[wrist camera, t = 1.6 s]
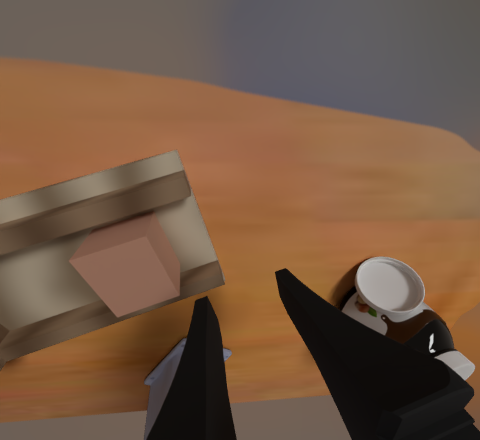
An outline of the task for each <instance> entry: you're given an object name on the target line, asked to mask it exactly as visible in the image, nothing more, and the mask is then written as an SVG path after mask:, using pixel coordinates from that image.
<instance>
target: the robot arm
mask: <svg viewBox="0 0 480 440" xmlns="http://www.w3.org/2000/svg"><path fill="white" fill-rule="evenodd" d="M275 274H276V280H277V285H278V290H279V295H280V298H281V300H282V302H283V304H284V307H285V309H286V311H287V313H288V315H289V317H290V318H291V320H292V322H293V323H294V325H295V327H296V329H297V330H298V332H299V334H300V335H301V337H302V339H303V341H304V342H305V344H306V346H307V347H308V349H309V351H310V352H311V354H312V356H313V358H314V360H315V362H316V364H317V366H318V368H319V370H320V372H321V374H322V376H323V378H324V380H325V383H326V385H327V387H328V389H329V391H330V393H331V395H332V397H333V399H334V402H335V404H336V406H337V408H338V410H339V412H340V415H341V416H342V419H343V421H344V423H345V425H346V428H347V430H348V432H349V434H350V437H351V439H352V440H480V431H479V430H478V429H477V428H476V427H475V426H474V425H473V423H474V422H475V421H474V419H473V418H472V417H471V416H470V415H469V414H468V412H466V410H465V409H464V407H465V406H466V405H467V404H468V403H469V401H470V400H471V399H472V397H473V396H474V389H473V388H472V387H471V386H470V385H469V384H468V383H467V382H466V381H465V380H464V379H463V378H462V377H461V376H460V375H458V374H457V373H456V372H455V371H454V370H453V369H452V368H450V367H449V366H448V365H447V364H445V363H444V362H443V361H442V360H439V359H437V358H434V357H432V356H429V355H427V354H424V353H422V352H420V351H417V350H415V349H413V348H410V347H408V346H406V345H404V344H402V343H400V342H397V341H395V340H393V339H391V338H389V337H387V336H385V335H383V334H381V333H379V332H377V331H375V330H373V329H371V328H369V327H367V326H366V325H364V324H362V323H360V322H358V321H357V320H355V319H353V318H352V317H350V316H348V315H347V314H345V313H343V312H342V311H340V310H339V309H337V308H336V307H334V306H333V305H331V304H330V303H328V302H327V301H325V300H324V299H323V298H321V297H320V296H318V295H317V294H316V293H315V292H313V291H312V290H311V289H309V288H308V287H307V286H306V285H304V284H303V283H302V282H301V281H300V280H298V279H297V278H296V277H295V276H294V275H293V274H292V273H291V272H290V271H289V270H288V269H286V268H285V269H282V270H279V271H276V272H275ZM231 354H232V352H231V350H228V349H224V348H223V344H222V337H221V332H220V327H219V322H218V318H217V316H216V314H215V312H214V310H213V308H212V305H211V303H210V301H209V299H208V297H207V296H206V297H203V298H200V299H198V300H196V301H195V305H194V310H193V315H192V320H191V324H190V328H189V332H188V336H187V338H184V339H182V340H181V341H180V342H179V343H178V344H177V345H176V347H175V348H174V349H173V350H172V351H171V352H170V353H169V354H168V355H167V356H166V357H165V358H164V359H163V361H162V362H161V363H160V364H159V365H158V366H157V367H156V368H155V369H154V370H153V371H152V372H151V373H150V374H149V376H148V377H147V378H146V379H145V380H144V384H146V385H150V393H149V401H148V409H147V417H146V425H145V434H144V440H237V439H236V434H235V429H234V424H233V418H232V413H231V408H230V402H229V397H228V390H227V382H226V373H225V363H224V361H225V360H226V359H228V358H229V357H230V356H231Z"/></svg>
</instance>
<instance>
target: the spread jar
mask: <svg viewBox="0 0 480 440" xmlns="http://www.w3.org/2000/svg"><path fill="white" fill-rule="evenodd" d="M424 296H425V288H424V284H423V282H422V280H421V278H420V277H419V275H418V274H417V273H416V272H415V271H414V270H413V269H412V268H411V267H409V266H408V265H407V264H405V263H403V262H401V261H399V260H396V259H394V258H389V257H374V258H370V259H368V260H366V261H364V262H363V263H362V264H361V265H360V267H359V268H358V271H357V273H356V275H355V286H354V287H353V288H352V289H351V290H349V291H348V293H347V294H346V295H345V297H344V298H343V300H342V303H341V305H340V309H339V310H340V311H342V312H343V313H345V314H347V315H348V316H350V317H352V318H353V319H355V320H357V321H358V322H360V323H362V324H364V325H366V326H367V327H369V328H371V329H373V330H375V331H377V332H379V333H381V334H383V335H385V336H387V337H389V338H391V339H393V340H395V341H397V342H400V343H402V344H404V345H406V346H408V347H410V348H413V349H415V350H417V351H420V352H422V353H424V354H427V355H429V356H432V357H434V358H437V359H439V360H442V361H443V362H444V363H445V364H447V365H448V366H449V367H450V368H452V369H453V370H454V371H455V372H456V373H457V374H458V375H460V376H461V377H462V378H463V379H464V380H466V379H467V378H468V377H469V376H470V375H471V374H472V373H473V371H474V370H475V365H474V364H473V363H472V362H470V361H469V360H468V359H467V358H466V357H465V356H463V355H462V354H461V353H460V352H458V351H457V350H456V349H454V344H453V339H452V336H451V333H450V331H449V329H448V327H447V325H446V323H445V322H444V321H443V319H442V318H441V317H440V316H439V315H438V314H437V313H436V312H434V311H433V310H432V309H431V308H430V307H429V306H428V305H426V304H425V303H424V302H423V300H424Z"/></svg>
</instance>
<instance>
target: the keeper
mask: <svg viewBox="0 0 480 440" xmlns="http://www.w3.org/2000/svg"><path fill="white" fill-rule="evenodd" d="M69 262H70V263H71V264H72V266H73V267H74V268H75V269H76V270H77V271H78V272H79V274H80V275H81V276H82V277H83V278H84V279H85V281H86V282H87V283H88V284H89V285H90V286H91V288H92V289H93V290H94V291H95V292H96V293H97V295H98V296H99V297H100V298H101V299H102V300H103V301H104V303H105V304H106V305H107V306H108V307H109V308H110V310H111V311H112V312H113V313H114V314H115V315H116V317H120V316H123V315H126V314H129V313H132V312H134V311H137V310H140V309H143V308H146V307H149V306H152V305H154V304H157V303H160V302H163V301H166V300H169V299H171V298H174V297H177V296H180V262H179V260H178V258H177V257H176V255H175V253H174V251H173V249H172V247H171V245H170V243H169V241H168V239H167V237H166V235H165V233H164V231H163V229H162V227H161V225H160V223H159V221H158V219H157V217H156V215H155V213H154V211H152V212H149V213H146V214H142V215H139V216H136V217H133V218H129V219H126V220H123V221H120V222H117V223H113V224H110V225H107V226H104V227H100V228H97V229H94V230H92V231H91V232H90V234H89V235H88V236H87V238H86V239H85V240H84V242H83V243H82V244H81V245H80V247H79V248H78V249H77V251H76V252H75V253H74V255H73V256H72V257H71V258H70V260H69Z"/></svg>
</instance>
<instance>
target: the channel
mask: <svg viewBox="0 0 480 440" xmlns="http://www.w3.org/2000/svg"><path fill="white" fill-rule="evenodd" d="M152 211H154V213H155V215H156V217H157V219H158V221H159V223H160V225H161V227H162V229H163V231H164V233H165V235H166V237H167V239H168V241H169V243H170V245H171V247H172V249H173V251H174V253H175V255H176V257H177V258H178V260H179V262H180V296H177V297H174V298H171V299H169V300H166V301H163V302H160V303H157V304H154V305H152V306H149V307H146V308H143V309H140V310H137V311H134V312H132V313H129V314H126V315H123V316H120V317H116V315H115V314H114V313H113V312H112V311H111V310H110V308H109V307H108V306H107V305H106V304H105V303H104V301H103V300H102V299H101V298H100V297H99V296H98V295H97V293H96V292H95V291H94V290H93V289H92V288H91V286H90V285H89V284H88V283H87V282H86V281H85V279H84V278H83V277H82V276H81V275H80V274H79V272H78V271H77V270H76V269H75V268H74V267H73V266H72V264H71V263H70V262H69V260H70V258H71V257H72V256H73V255H74V253H75V252H76V251H77V249H78V248H79V247H80V245H81V244H82V243H83V242H84V240H85V239H86V238H87V236H88V235H89V234H90V232H91V231H92V230H94V229H97V228H100V227H104V226H107V225H110V224H113V223H117V222H120V221H123V220H126V219H129V218H133V217H136V216H139V215H142V214H146V213H149V212H152ZM224 281H225V277H224V274H223V272H222V269H221V266H220V264H219V261H218V258H217V255H216V253H215V250H214V247H213V245H212V242H211V239H210V237H209V234H208V231H207V229H206V226H205V223H204V221H203V218H202V215H201V213H200V210H199V207H198V205H197V202H196V199H195V197H194V194H193V191H192V188H191V186H190V183H189V180H188V178H187V175H186V172H185V170H184V167H183V164H182V162H181V159H180V156H179V154H178V151H177V150H173V151H170V152H166V153H163V154H159V155H156V156H152V157H149V158H145V159H142V160H138V161H135V162H131V163H128V164H124V165H121V166H117V167H114V168H110V169H106V170H103V171H99V172H96V173H92V174H89V175H85V176H82V177H78V178H75V179H71V180H68V181H64V182H61V183H57V184H54V185H50V186H47V187H43V188H40V189H36V190H33V191H29V192H26V193H22V194H19V195H15V196H12V197H8V198H4V199H1V200H0V370H1V369H2V368H3V366H4V365H5V363H6V362H7V361H10V360H12V359H15V358H18V357H21V356H24V355H27V354H29V353H32V352H35V351H38V350H41V349H43V348H46V347H49V346H52V345H55V344H58V343H60V342H63V341H66V340H69V339H72V338H75V337H77V336H80V335H83V334H86V333H89V332H91V331H94V330H97V329H100V328H103V327H106V326H108V325H111V324H114V323H117V322H120V321H123V320H125V319H128V318H131V317H134V316H137V315H140V314H142V313H145V312H148V311H151V310H154V309H156V308H159V307H162V306H165V305H168V304H171V303H173V302H176V301H179V300H182V299H185V298H188V297H190V296H193V295H196V294H199V293H202V292H205V291H207V290H210V289H213V288H216V287H219V286H221V285H224V284H225V283H224Z"/></svg>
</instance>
